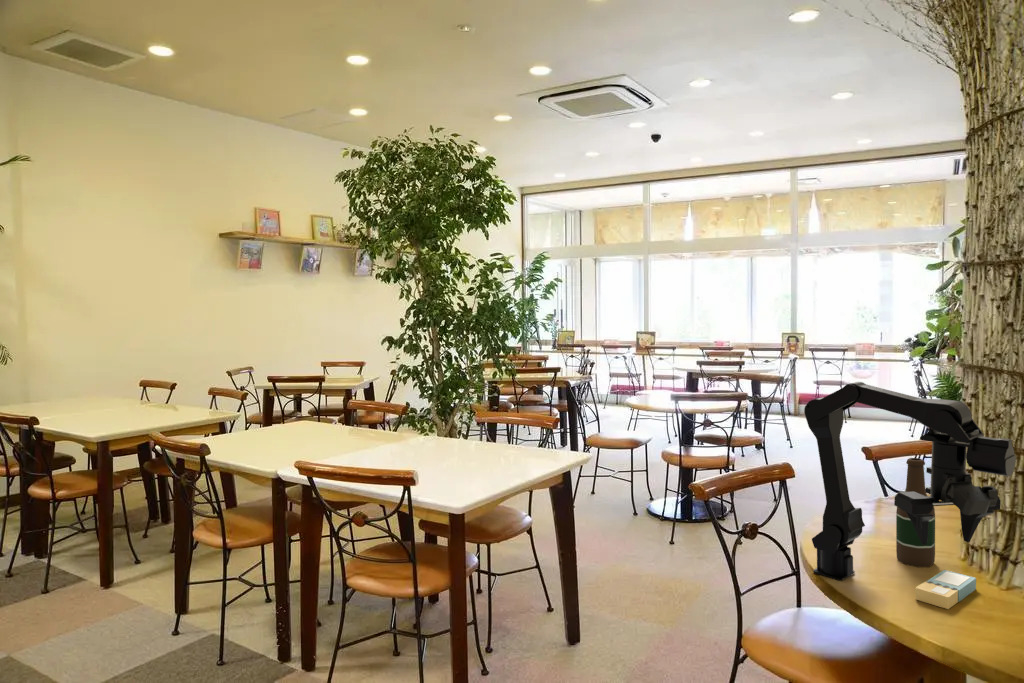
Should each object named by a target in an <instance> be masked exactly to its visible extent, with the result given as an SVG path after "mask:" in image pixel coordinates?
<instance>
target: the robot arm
mask: <svg viewBox="0 0 1024 683" xmlns="http://www.w3.org/2000/svg"><path fill="white" fill-rule="evenodd" d="M857 403H859V404H862V405H865V406H869V407H873V408H876V409H879V410H884V411H887V412H891V413H895V414H897V415H902V416H905V417H907V418H911V419H914V420H916V421H917V422H918V423H920V424H921V425H923V426H925V427H926V428H929V430H928V431H927V432H926V433H925V434H923V435H921V436H920V437H919V438H920V440H921V441H926V442H931V466H930V467H928V466H927V467H926V471H925V472H926V473H927V474H929V475H930V487H929V486H928V487H925V489H926V494H929V496H928V495H927V496H924V495H921V494H919V493H917V492H914V491H912V492H905V491H898V492H897V493H896V494H895V495H894V502H893V503H894V506H895V507H896V508H897V507H899V508H900V509H901V510H903V511H905V512H906V513H907V515H908V517H909V519H910V520H911V522H912V524H913V526H914V528H915V531H916V533H917V535H918V537H919V539H920V542H921V543H922V544H923V545H927V541H928V526H929V520H930V519H931V518H932V517H933V516H934V515H932V514H930V512H931V511H932V510H933V506H934V507H940V506H941V507H944V506H955V507H956V508H957V509H958V510H959V513H960V514H959V515H960V525H961V533H962V534H961V535H962V538H963V541H964V542H965V543H970V542H971V540H972V538H973V535H974V534H975V531H976V530H977V528H978V526H979V524H980V523H981V521H982V519H984V517H987V516H988V515H992V514H994V513H995V510H996V511H998V510H1001V504H1002V501H1001V500H1002V499H1001V498H1000V497H999V495H998V489H997V488H995V487H994V486H993V485H986V486H979V485H977V486H975V485H974V484H973V480H972V479H973V477H972V474H971V473H969V472H967V465H968V467H970V468H971V469H972V470H973V471H975V472H981V473H987V474H991V475H992V474H993V475H999V476H1004V477H1008V478H1009V477H1011V476H1012V475H1013V473H1014V470H1015V467H1016V463H1017V455H1016V454H1015V449H1014V447H1013V440H1012V439H1011V438H1001V437H1000V438H996V437H990V436H989V437H988V436H985V434H984V433H983V431H982V430H981V428H980V427H979V425H978V424H977V423H976V422H975V421H974V418H973V414H972V411H971V409H970V408H969V406H968V405H967V404H966V403H965V402H962V401H961V400H960V401H959V400H954V399H953V400H952V399H941V398H920V397H916V396H913V395H909V394H906V393H901V392H897V391H893V390H890V389H885V388H882V387H877V386H875V385H870V384H866V383H864V382H862V381H855V382H848V383H846V384H845V385H844V386H843V387H841V388H839V389H838V390H835V391H834V392H832V393H830V394H827V395H826V396H823V397H819V398H815V399H814V398H813V399H810V400H809V401H808V402H807V403H806V404H805V406H804V409H803V414H804V417H805V419H806V422H807V423H806V424H807V425H808V428H809V430H810V431H811V433H812V434H813V436H814V438H815V439H816V443H817V448H818V457H819V462H820V469H821V475H822V481H823V488H824V494H825V499H826V500H825V502H826V503H825V504H826V505H825V506H824V512H823V514H822V531H820V532H818V533H817V534H816V535H815V536H814V537H812V538H811V543H812V545H813V547H814V549H816V568H814V569H813V570H812V573H814V574H817V575H821V576H823V577H827V578H831V579H833V580H837V581H844V580H845V579H846V578H849V577H850V576H852V575H854V574H855V573H856V572H855V570H854V556H853V555H852V547H849V546H850V545H853V544H854V542H855V540H856V539H857V538H859V537H860V536H861V534H862V533H863V528H864V527H866V525H865V522H864V520H863V510H862V508H861V507H857V508H855V506H854V505H853V503H852V502H851V499H850V492H849V488H848V481H847V475H846V468H845V464H844V463H845V462H844V455H843V450H842V444H841V432H842V429H843V425H844V412H845V411H847V410H848V409H850V408H852V407H853V406H855V405H856V404H857Z"/></svg>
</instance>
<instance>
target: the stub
mask: <svg viewBox="0 0 1024 683" xmlns="http://www.w3.org/2000/svg"><path fill="white" fill-rule="evenodd" d="M914 598H915V599H914V600H917V601H920V602H923V603H926V604H930V605H933V606H936V607H940V608H943V609H946V610H949V609H950V608H952V607H953V606H955V605H956V604H957V603H958V590H956V589H952V588H947V587H945V586H940V585H938V584H933V583H931V582H927V580H926V581H924V582H922V583H920V584H919V585H918V586H916V587H915V596H914Z"/></svg>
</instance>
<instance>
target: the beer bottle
mask: <svg viewBox="0 0 1024 683" xmlns="http://www.w3.org/2000/svg"><path fill="white" fill-rule="evenodd" d="M906 465H907V470H906V471H907V473H906V485H905V490H904V492H912V491H914V492H917V493H919V494H921V495H924V496H928V495H927V494H928V493H926V481H925V480H926V479H925V467H924V466H925V465H926V462H925V460H924V459H922V458H920V457H910V458H908V459H907V460H906ZM930 514H932V515H934V516H933V517H932V518H931V519H930V520H929V526H928V541H927V545H923V544H922V543H921V542H920V539H919V537H918V535H917V533H916V531H915V528H914V526H913V524H912V522H911V520H910V519H909V517H908V515H907V513H906V512H905V511H903V510H901V509H900V508H899V507H897V506H896V515H895V517H896V518H895V519H896V521H895V522H896V523H895V524H896V531H895V532H896V533H895V534H896V537H895V539H896V543H895V545H896V546H895V547H896V549H895V550H896V551H895V552H896V559H897V560H898V561H899V562H900V563H902V564H904V565H906V566H910V567H915V568H930V567H931V566H932V565H933V564H934V563H935V562H936V561H935V560H936V509H935V506H933V510H932V511H931V512H930Z"/></svg>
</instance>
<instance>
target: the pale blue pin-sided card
mask: <svg viewBox="0 0 1024 683" xmlns="http://www.w3.org/2000/svg"><path fill="white" fill-rule="evenodd" d="M926 582H931V583H933V584H938V585H940V586H945V587H947V588H952V589H956V590H958V602H961V601H963V599H965V598H966V597H968V596H969V595H970V594H971V593H973V592H975V590H976V589H977V578H976V577H974V576H971V575H965V574H962V573H958V572H956V571H951V570H946V569H943V570H942V571H940V572H939V573H937V574H935V575H934V576H933V577H931V578H929V579H927V580H926ZM958 602H957V603H958Z"/></svg>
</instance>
